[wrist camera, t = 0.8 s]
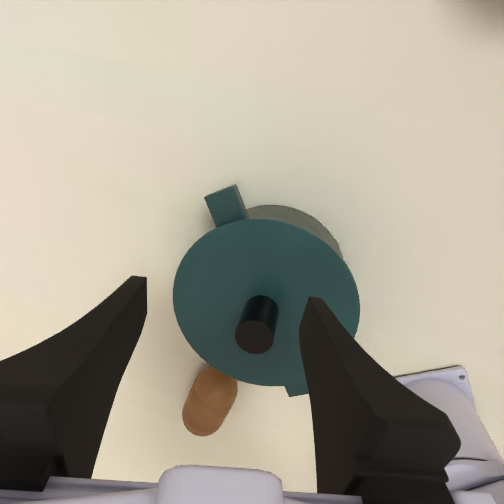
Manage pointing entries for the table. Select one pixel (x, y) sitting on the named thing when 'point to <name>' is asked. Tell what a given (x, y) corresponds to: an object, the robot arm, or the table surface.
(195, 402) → the brown cylinder
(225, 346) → the pot lid
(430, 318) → the table surface
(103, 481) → the robot arm
